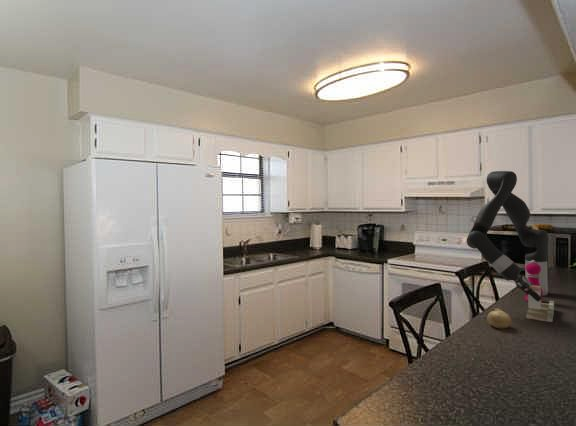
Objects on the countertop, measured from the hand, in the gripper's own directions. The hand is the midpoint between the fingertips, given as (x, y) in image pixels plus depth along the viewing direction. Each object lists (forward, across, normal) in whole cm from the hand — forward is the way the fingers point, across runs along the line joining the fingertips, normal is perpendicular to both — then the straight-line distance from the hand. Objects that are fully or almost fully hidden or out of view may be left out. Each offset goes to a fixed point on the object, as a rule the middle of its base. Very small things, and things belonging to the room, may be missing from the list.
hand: (540, 298), depth 142 cm
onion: (-3, -22, +14) cm, 26 cm away
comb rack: (+5, +4, +6) cm, 9 cm away
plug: (+2, 0, +4) cm, 5 cm away
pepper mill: (+3, +24, +8) cm, 26 cm away
